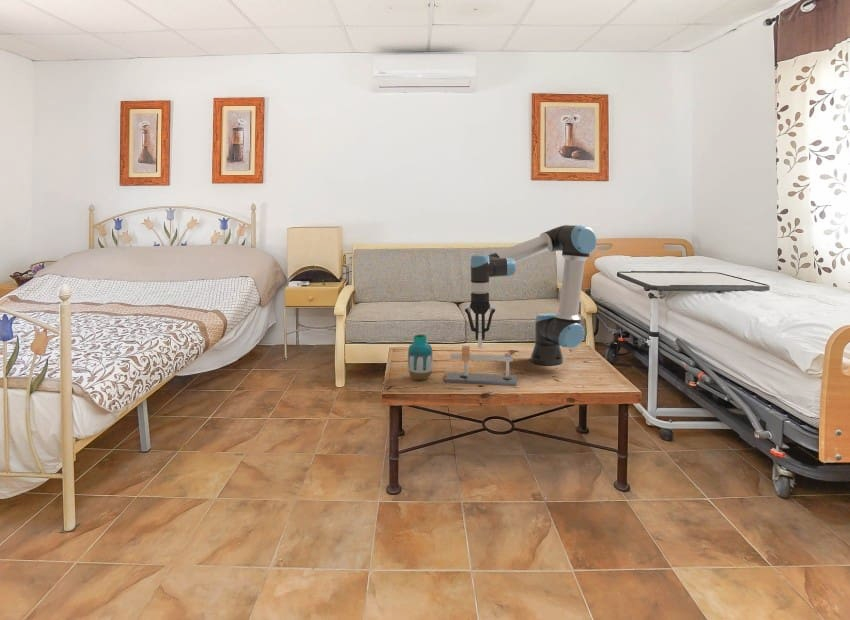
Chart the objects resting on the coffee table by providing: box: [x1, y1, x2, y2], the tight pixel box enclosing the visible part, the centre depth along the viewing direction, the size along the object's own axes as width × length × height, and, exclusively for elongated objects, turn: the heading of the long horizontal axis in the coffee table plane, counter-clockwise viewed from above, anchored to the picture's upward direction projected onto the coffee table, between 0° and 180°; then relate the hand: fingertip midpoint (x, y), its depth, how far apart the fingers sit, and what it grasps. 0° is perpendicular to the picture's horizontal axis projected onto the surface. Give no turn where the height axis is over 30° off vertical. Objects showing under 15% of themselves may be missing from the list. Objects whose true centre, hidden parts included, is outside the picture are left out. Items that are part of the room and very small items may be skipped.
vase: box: [407, 333, 434, 381], centre depth 226 cm, size 11×11×19 cm
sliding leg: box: [461, 345, 471, 376], centre depth 225 cm, size 3×4×12 cm
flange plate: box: [444, 371, 518, 386], centre depth 225 cm, size 30×10×1 cm, turn 80°
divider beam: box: [450, 352, 514, 379], centre depth 224 cm, size 26×3×11 cm, turn 80°
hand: (480, 347), depth 223 cm, fingers closed
